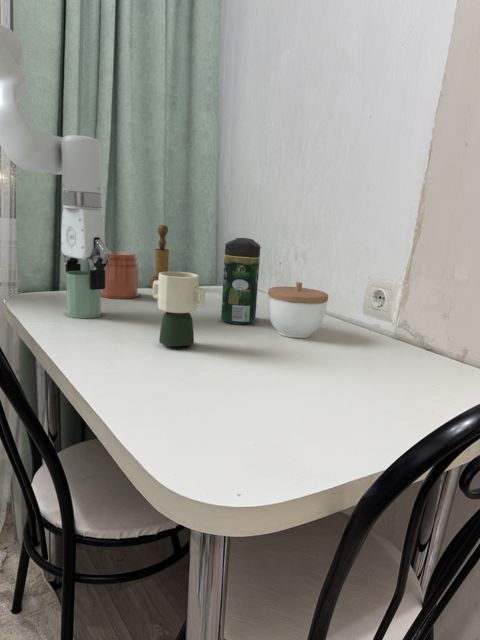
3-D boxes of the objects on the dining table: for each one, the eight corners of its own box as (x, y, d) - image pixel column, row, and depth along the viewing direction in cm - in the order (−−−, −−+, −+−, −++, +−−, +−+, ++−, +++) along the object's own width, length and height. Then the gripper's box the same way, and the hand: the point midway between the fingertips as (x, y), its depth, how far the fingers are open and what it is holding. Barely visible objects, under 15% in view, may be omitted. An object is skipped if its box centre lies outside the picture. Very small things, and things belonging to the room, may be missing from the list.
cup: (61, 313, 109) (60, 271, 106) (90, 310, 114) (89, 270, 111) (77, 319, 104) (76, 276, 102) (106, 316, 109) (106, 274, 107)
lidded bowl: (261, 325, 113) (266, 276, 110) (316, 328, 115) (322, 280, 112) (268, 339, 101) (273, 285, 98) (329, 343, 103) (336, 289, 100)
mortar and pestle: (145, 287, 148) (146, 223, 143) (156, 284, 154) (158, 223, 149) (165, 290, 146) (167, 226, 141) (176, 287, 152) (178, 225, 147)
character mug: (212, 346, 93) (216, 276, 90) (190, 355, 87) (194, 280, 83) (163, 336, 97) (165, 268, 94) (140, 343, 91) (141, 271, 88)
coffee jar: (223, 314, 121) (228, 235, 116) (256, 317, 121) (262, 238, 116) (218, 323, 111) (223, 237, 106) (253, 326, 111) (260, 241, 106)
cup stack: (92, 293, 132) (92, 250, 129) (124, 290, 139) (125, 250, 136) (113, 300, 126) (113, 255, 123) (146, 297, 133) (146, 255, 130)
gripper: (44, 198, 105) (48, 280, 110) (88, 202, 94) (90, 293, 99) (78, 201, 111) (80, 279, 115) (123, 204, 100) (123, 290, 104)
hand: (85, 285), depth 107 cm, fingers open, 9 cm apart
